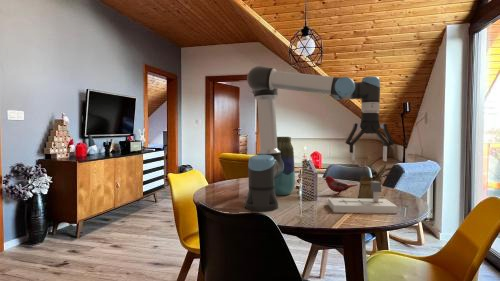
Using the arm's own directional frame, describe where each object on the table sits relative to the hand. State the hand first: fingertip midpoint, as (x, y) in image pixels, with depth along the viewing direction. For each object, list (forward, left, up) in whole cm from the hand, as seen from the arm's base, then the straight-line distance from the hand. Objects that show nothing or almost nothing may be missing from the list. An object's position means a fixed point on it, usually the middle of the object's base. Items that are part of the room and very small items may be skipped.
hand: (368, 160), depth 141 cm
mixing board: (-4, -1, -21) cm, 22 cm away
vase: (-38, +30, -22) cm, 53 cm away
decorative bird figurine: (-7, +28, -22) cm, 36 cm away
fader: (+3, -1, -18) cm, 19 cm away
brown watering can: (+6, +17, -22) cm, 28 cm away
